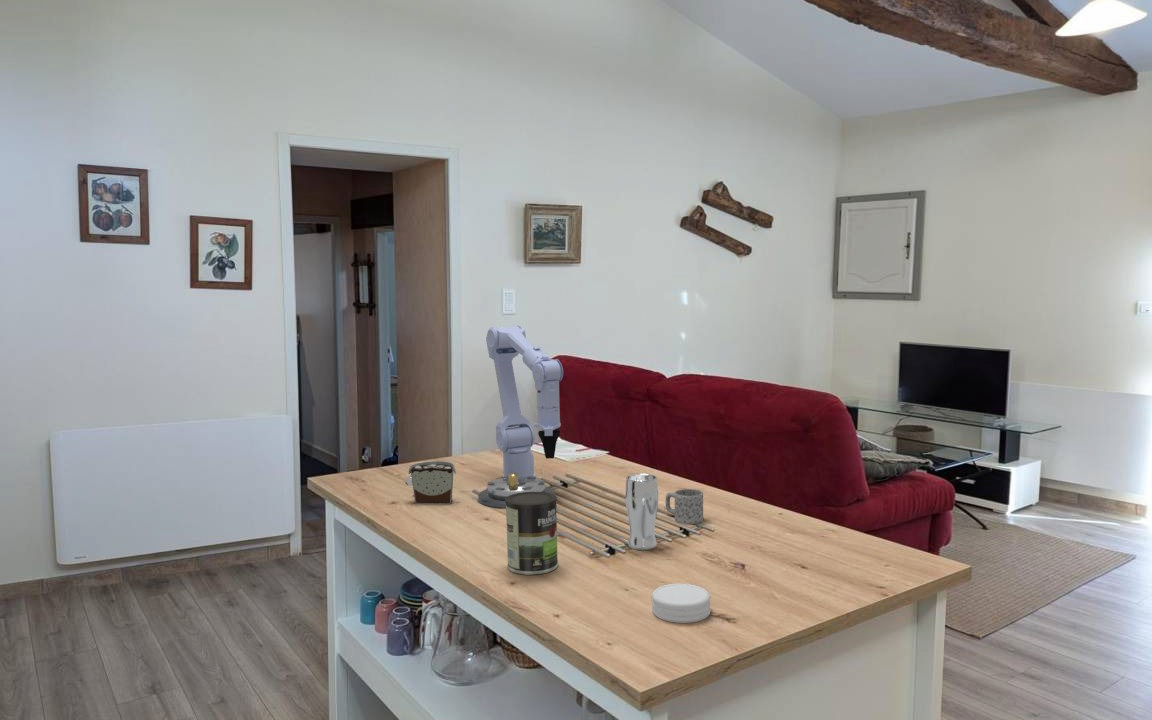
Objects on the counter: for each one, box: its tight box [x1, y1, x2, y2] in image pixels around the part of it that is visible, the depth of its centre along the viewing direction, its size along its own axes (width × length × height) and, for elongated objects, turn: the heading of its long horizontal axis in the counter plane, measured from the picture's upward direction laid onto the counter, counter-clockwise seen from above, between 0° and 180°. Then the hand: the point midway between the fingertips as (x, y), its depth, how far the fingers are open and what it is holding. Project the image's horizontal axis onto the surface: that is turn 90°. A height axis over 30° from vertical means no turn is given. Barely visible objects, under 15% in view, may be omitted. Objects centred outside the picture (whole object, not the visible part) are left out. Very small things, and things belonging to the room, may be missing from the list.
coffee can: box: [505, 492, 559, 576], centre depth 168 cm, size 10×10×14 cm
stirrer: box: [405, 475, 413, 487], centre depth 231 cm, size 20×4×5 cm
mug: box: [665, 488, 704, 525], centre depth 198 cm, size 10×7×7 cm, turn 47°
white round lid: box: [651, 583, 711, 624], centre depth 144 cm, size 10×10×4 cm
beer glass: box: [625, 473, 659, 551], centre depth 179 cm, size 7×7×15 cm
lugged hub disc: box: [487, 473, 546, 500], centre depth 219 cm, size 15×15×6 cm
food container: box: [408, 460, 457, 505], centre depth 218 cm, size 12×6×10 cm, turn 84°
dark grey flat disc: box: [477, 486, 556, 509], centre depth 220 cm, size 20×20×1 cm
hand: (549, 458), depth 219 cm, fingers closed
